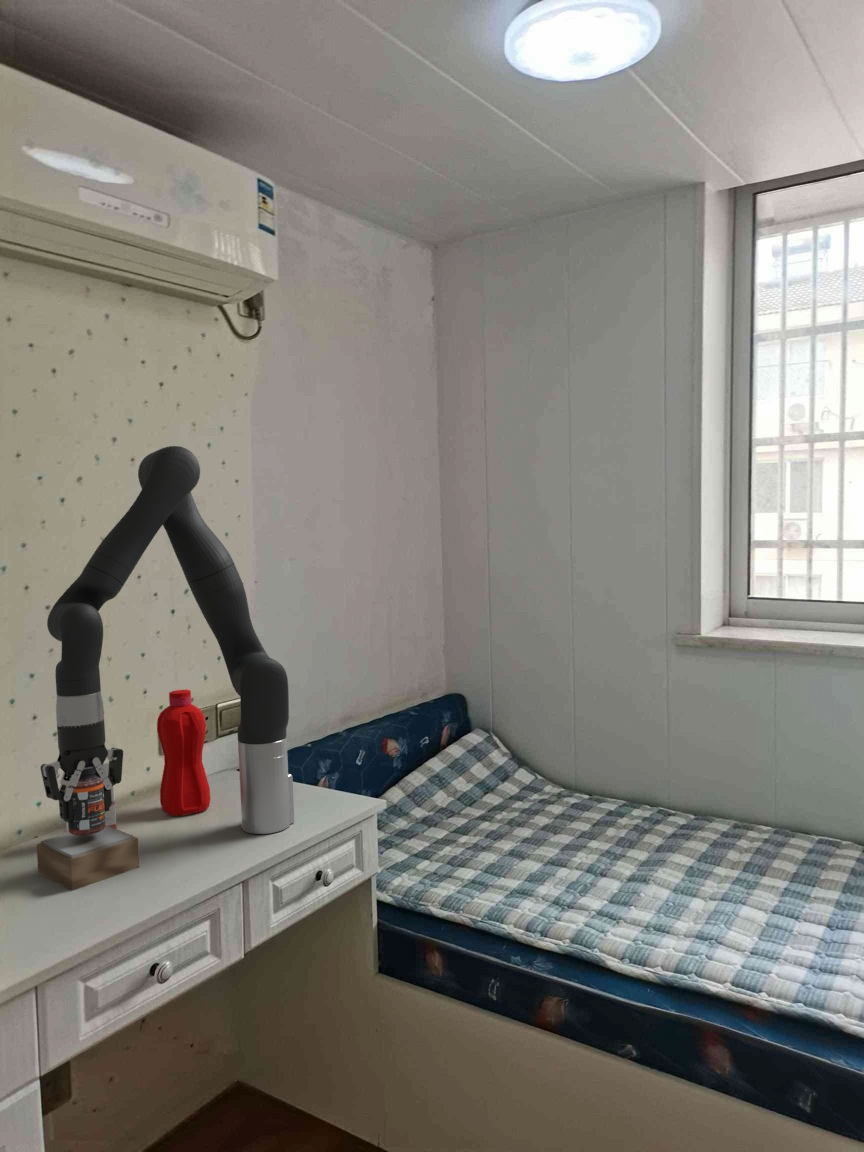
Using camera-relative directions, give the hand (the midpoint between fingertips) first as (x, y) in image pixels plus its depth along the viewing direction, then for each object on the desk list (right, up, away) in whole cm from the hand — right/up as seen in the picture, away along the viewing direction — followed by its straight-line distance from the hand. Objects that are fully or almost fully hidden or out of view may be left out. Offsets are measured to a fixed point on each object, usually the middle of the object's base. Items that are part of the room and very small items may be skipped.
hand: (86, 815), depth 151 cm
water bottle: (+8, -8, +32) cm, 34 cm away
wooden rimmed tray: (0, -9, 0) cm, 9 cm away
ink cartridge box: (-5, -9, +16) cm, 19 cm away
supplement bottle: (0, -3, 0) cm, 3 cm away
